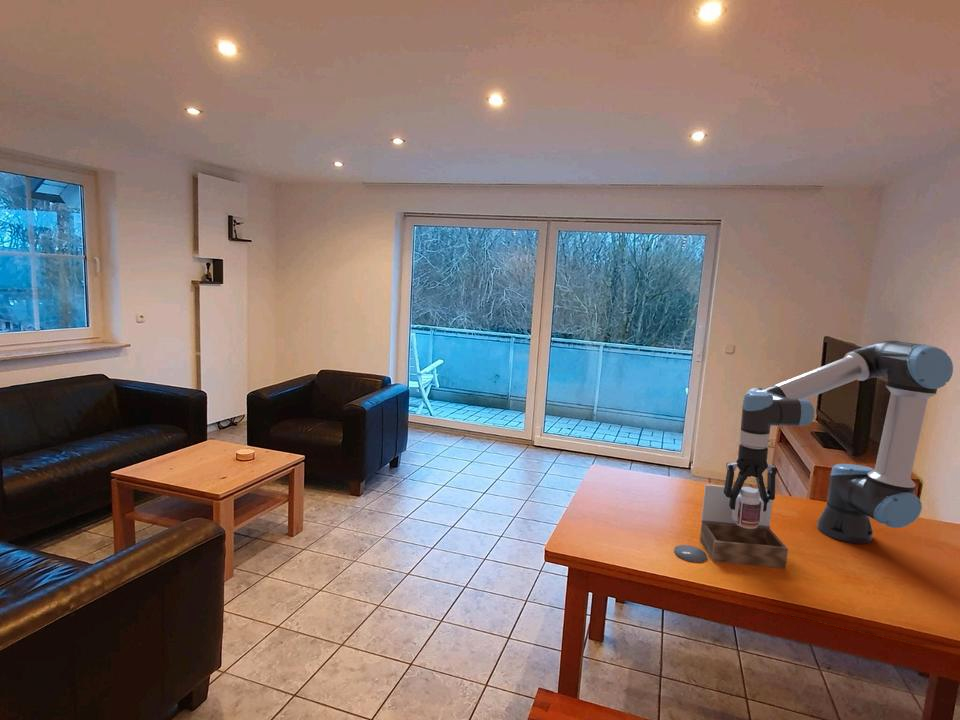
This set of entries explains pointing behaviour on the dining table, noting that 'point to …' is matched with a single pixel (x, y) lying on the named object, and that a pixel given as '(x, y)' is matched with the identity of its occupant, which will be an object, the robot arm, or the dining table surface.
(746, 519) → the pill bottle
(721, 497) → the frame lid
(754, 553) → the box
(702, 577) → the dining table surface
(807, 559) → the dining table surface
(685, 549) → the grey round disc
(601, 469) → the dining table surface
